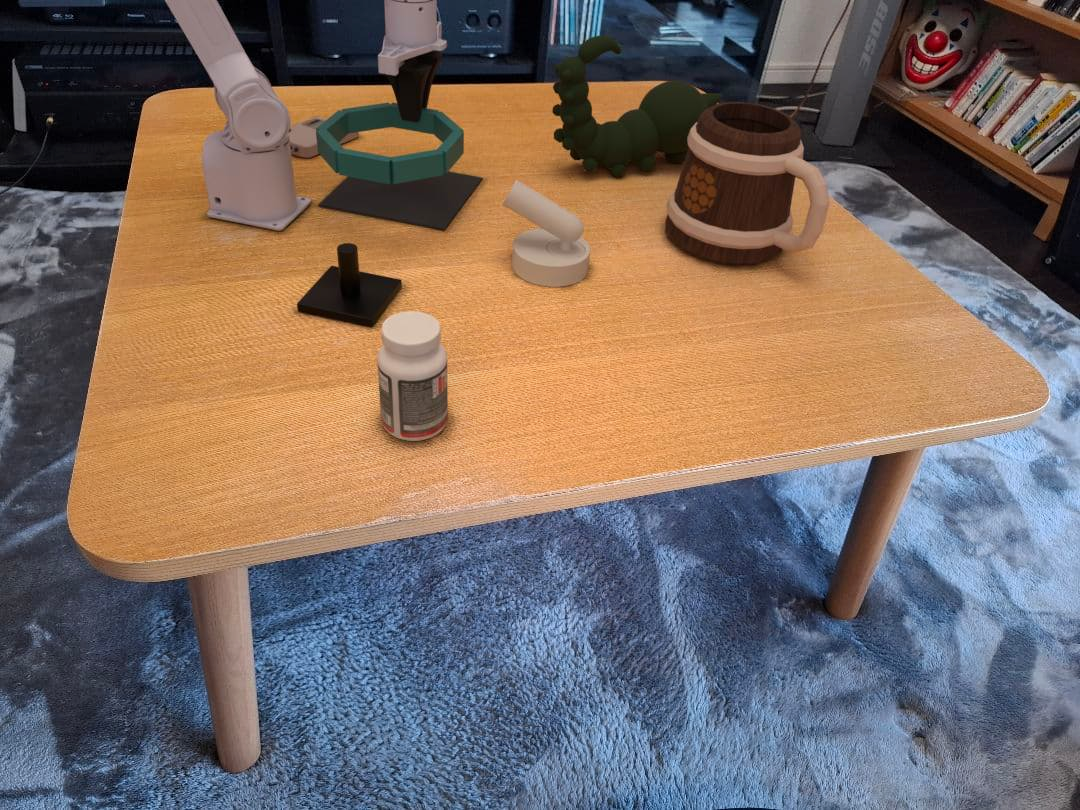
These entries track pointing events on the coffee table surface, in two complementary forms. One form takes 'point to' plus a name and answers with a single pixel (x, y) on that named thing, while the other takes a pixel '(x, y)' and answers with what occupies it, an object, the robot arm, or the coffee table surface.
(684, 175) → the mug
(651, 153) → the toy figurine
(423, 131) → the hoop
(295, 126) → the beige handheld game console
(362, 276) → the post
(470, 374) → the coffee table surface
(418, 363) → the pill bottle
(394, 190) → the mat
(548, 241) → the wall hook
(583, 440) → the coffee table surface
